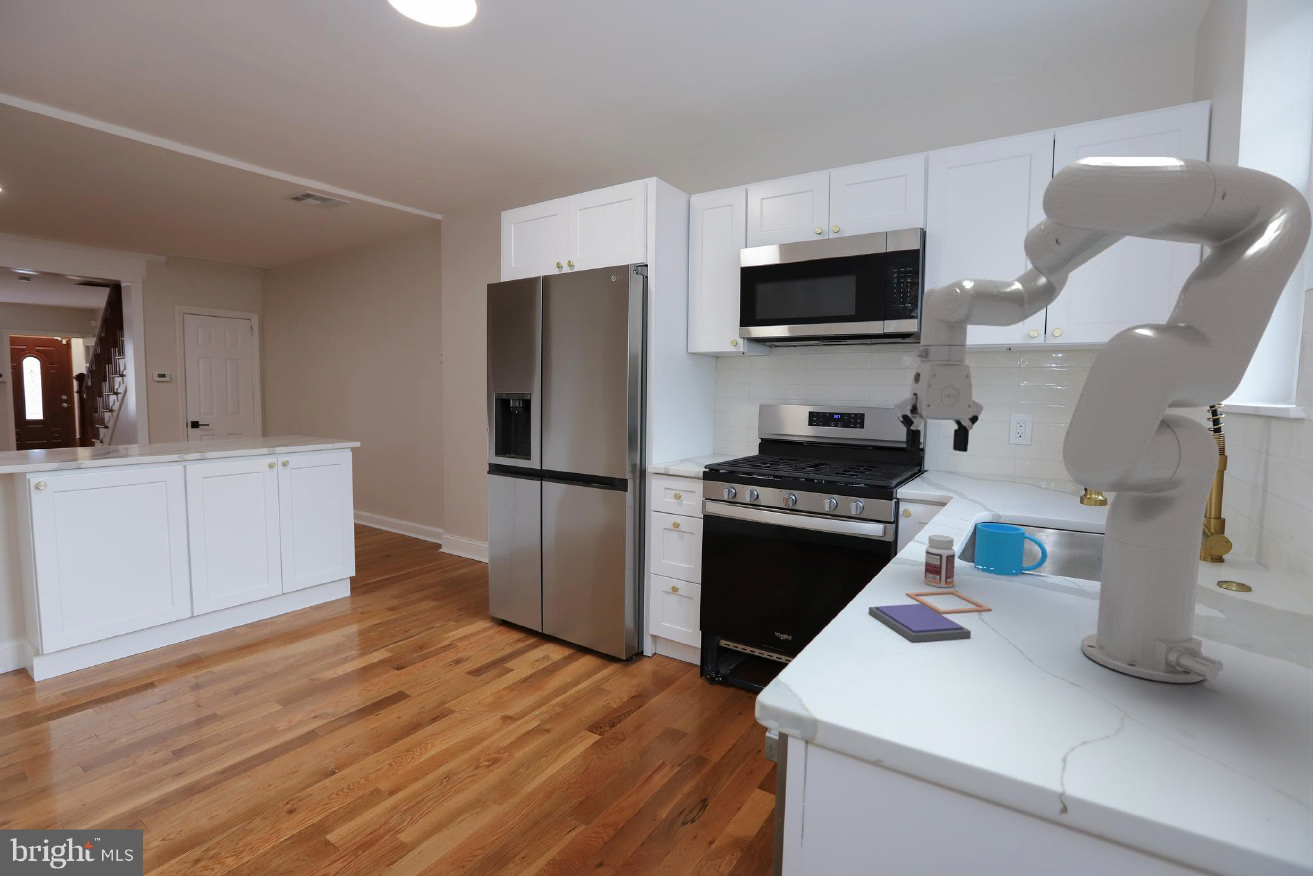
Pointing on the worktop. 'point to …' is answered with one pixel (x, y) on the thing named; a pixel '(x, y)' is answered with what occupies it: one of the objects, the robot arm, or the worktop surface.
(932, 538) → the pill bottle
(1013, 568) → the mug
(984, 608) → the open rectangular frame
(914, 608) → the ink pad
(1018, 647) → the worktop surface
